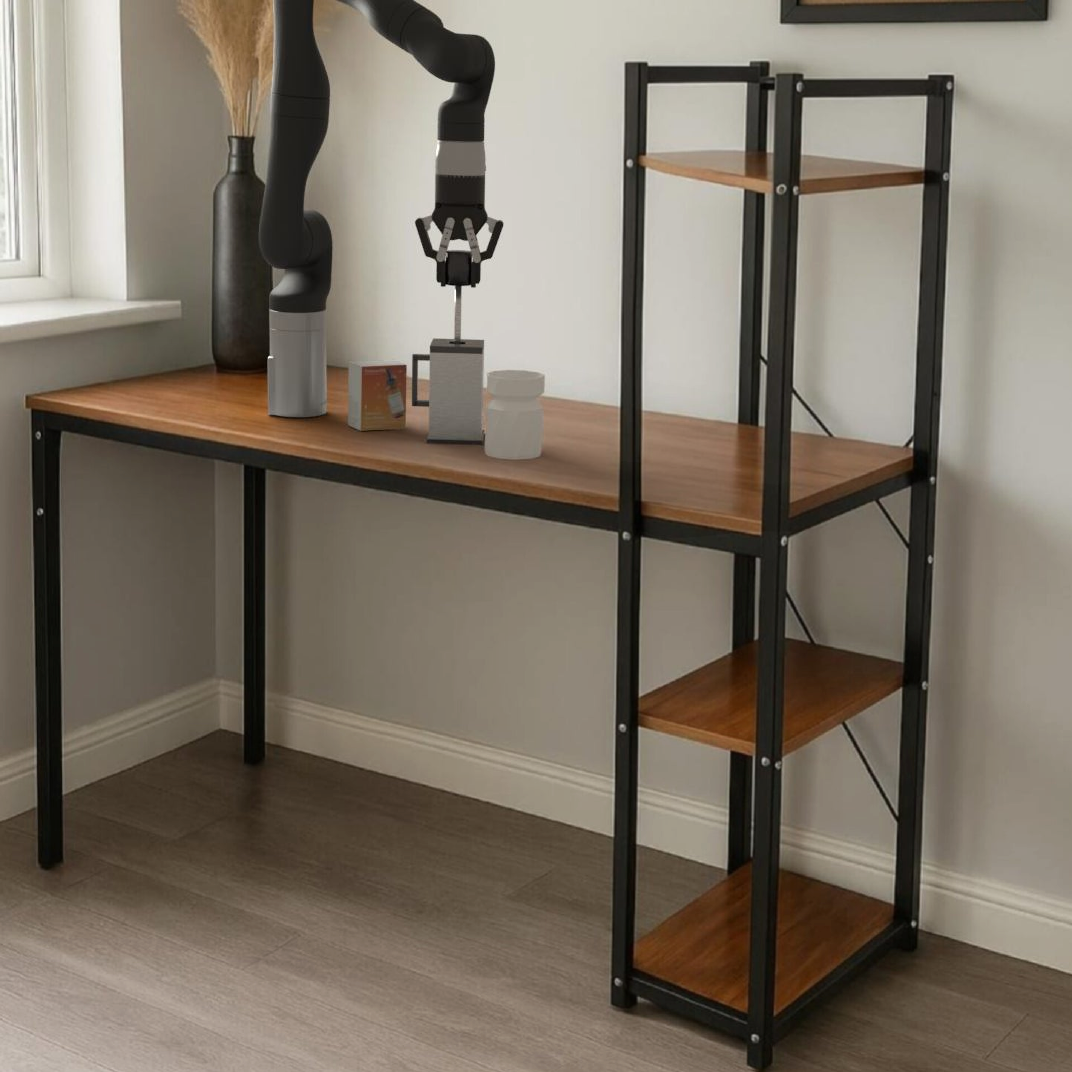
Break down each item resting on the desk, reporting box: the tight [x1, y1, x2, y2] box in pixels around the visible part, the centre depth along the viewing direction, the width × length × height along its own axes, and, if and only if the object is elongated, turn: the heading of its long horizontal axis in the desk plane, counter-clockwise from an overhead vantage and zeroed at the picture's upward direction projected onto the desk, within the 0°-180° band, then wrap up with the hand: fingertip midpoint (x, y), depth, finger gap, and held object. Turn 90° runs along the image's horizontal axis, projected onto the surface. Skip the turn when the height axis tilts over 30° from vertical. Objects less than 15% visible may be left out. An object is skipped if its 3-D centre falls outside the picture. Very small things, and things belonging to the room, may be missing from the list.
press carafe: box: [411, 338, 485, 446], centre depth 261 cm, size 11×9×15 cm
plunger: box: [445, 249, 473, 344], centre depth 258 cm, size 5×5×21 cm
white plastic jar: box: [484, 369, 546, 461], centre depth 252 cm, size 9×9×12 cm
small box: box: [347, 359, 408, 432], centre depth 268 cm, size 8×6×10 cm
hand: (458, 286), depth 257 cm, fingers closed on plunger, 4 cm apart
